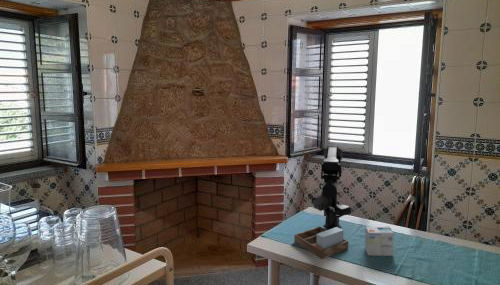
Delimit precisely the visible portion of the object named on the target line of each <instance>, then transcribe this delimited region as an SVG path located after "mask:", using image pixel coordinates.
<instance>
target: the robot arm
mask: <svg viewBox="0 0 500 285" xmlns="http://www.w3.org/2000/svg"><path fill="white" fill-rule="evenodd" d="M342 160H343V149H341V148H339V146H338V145H333V144H332V145H331V144H330V145H327V147H326V148H324V153H323V161H322V163H321V170H320V179H321V180H323V184H322V189H321V192H320V194H319V195H316V196H313V197H312V198H311V199H310V200H311V204H312V205H313V208H314V209H316V210H317V211H320V212H322V211H323V217H325V222H324V224H323V227H325V228H328V230H329V229H332V228H335V227H338V228H340V229H341V228H342V225H340V218H342V217H344V216H346V215H351V214H352V208H351V206H349V205H345V204H341V201H340V199H339V198H338V197H339V196H338V195H340V193H341V191H338V185H339V181H338V180H341V178H342V169H343V166H342V165H341V161H342Z"/></svg>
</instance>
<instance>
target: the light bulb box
mask: <svg viewBox="0 0 500 285" xmlns="http://www.w3.org/2000/svg"><path fill="white" fill-rule="evenodd" d="M364 229H365V230H364V232H365V237H364V238H365V239H364V250H365V251H366V254H367V256H377V257H378V256H379V257H380V256H381V257H382V256H383V257H384V256H385V257H386V256H387V257H388V256H389V257H393V256H394V235H395V233H394V231H393V230H392V228H391V227H390V225H389V226H368V225H367V226H365V228H364Z"/></svg>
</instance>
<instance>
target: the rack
mask: <svg viewBox="0 0 500 285" xmlns="http://www.w3.org/2000/svg"><path fill="white" fill-rule="evenodd" d="M326 230H327V229H326V228H324V227H322V226H316V227H314V228H311V229H308V230H305V231H302V232H299V233H296V234H294V235H293V236H294V243H296V244H297V245H299V246H300V247H302V248H303V249H306V251H308V252H309V253H312V254H313V255H315V256H316V257H318V258H320V259H325V258H328V257H331V256H333V255H335V254H338V253H341V252H343V251H345V250H348V249H349V240H348V239H345V238H344V237H343V242H342V243H339V244H337V245H334V246H332V247H329V248H326V249H324V250H322V248H320V247H319V246H317V234H318V233H321V232H324V231H326Z"/></svg>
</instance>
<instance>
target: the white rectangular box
mask: <svg viewBox="0 0 500 285" xmlns="http://www.w3.org/2000/svg"><path fill="white" fill-rule="evenodd" d="M343 238H344V229H342V228H341V227H340V228H338V227H335V228H332V229H329V228H328V229H326V231H324V232H321V233H318V234H317V246H319V247H320V248H322V250H324V249H326V248H329V247H332V246H334V245H337V244H339V243H342V242H343Z"/></svg>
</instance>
